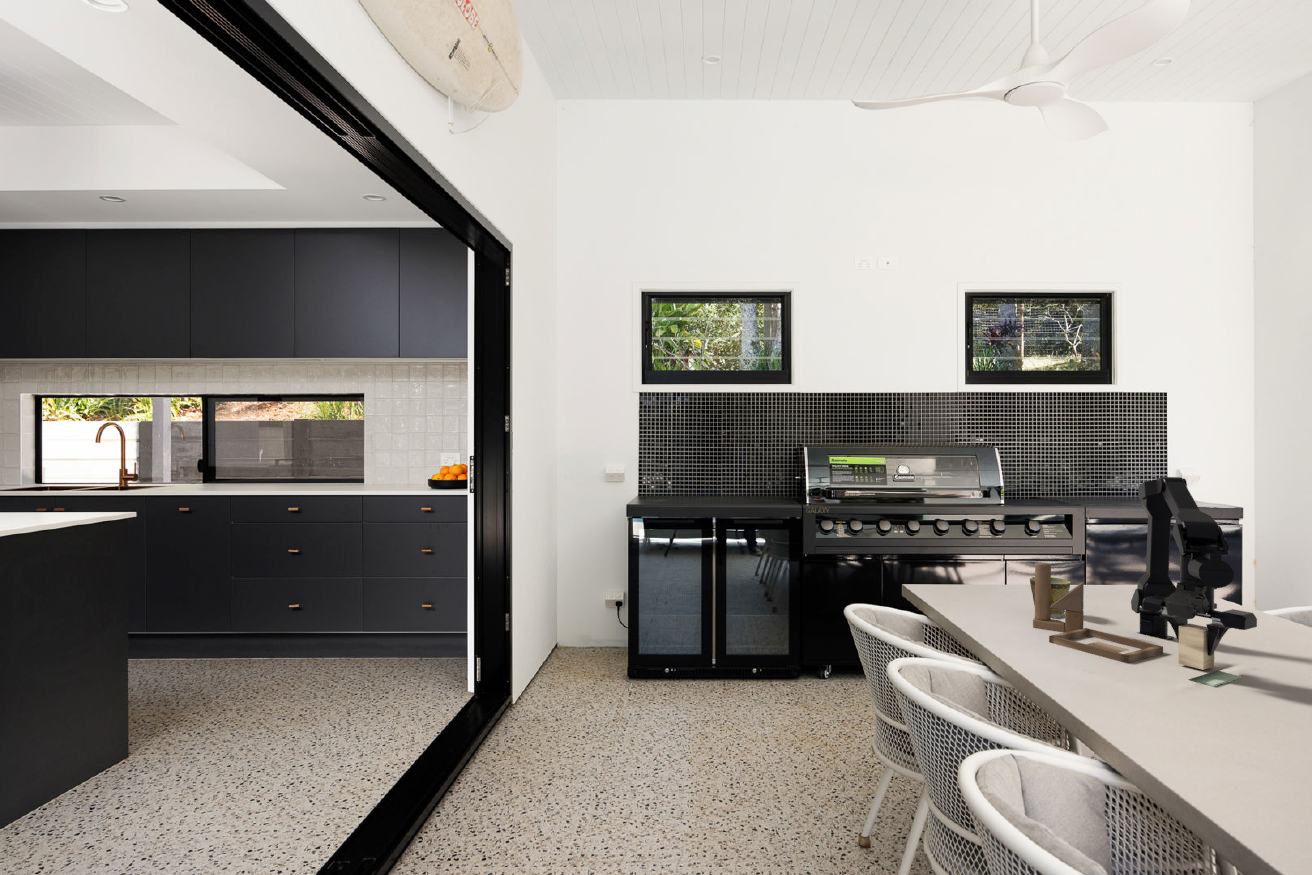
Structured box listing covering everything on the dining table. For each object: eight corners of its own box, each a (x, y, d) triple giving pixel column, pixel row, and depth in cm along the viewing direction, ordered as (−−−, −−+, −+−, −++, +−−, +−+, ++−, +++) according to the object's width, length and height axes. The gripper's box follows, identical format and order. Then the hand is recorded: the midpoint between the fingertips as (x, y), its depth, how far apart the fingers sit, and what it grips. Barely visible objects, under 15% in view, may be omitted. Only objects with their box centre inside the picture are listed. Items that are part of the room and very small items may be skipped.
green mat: (1180, 662, 154) (1180, 661, 154) (1240, 678, 144) (1240, 676, 144) (1153, 670, 148) (1153, 668, 148) (1214, 686, 139) (1214, 684, 139)
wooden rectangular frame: (1086, 640, 171) (1086, 627, 171) (1163, 659, 156) (1163, 646, 156) (1049, 648, 164) (1049, 635, 164) (1125, 669, 149) (1126, 655, 149)
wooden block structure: (1081, 641, 170) (1081, 568, 170) (1032, 633, 177) (1032, 563, 177) (1083, 638, 173) (1083, 566, 173) (1035, 630, 179) (1035, 561, 179)
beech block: (1189, 660, 149) (1189, 623, 149) (1214, 666, 145) (1214, 628, 145) (1178, 663, 147) (1178, 625, 147) (1203, 669, 143) (1203, 631, 143)
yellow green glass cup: (1078, 620, 190) (1078, 583, 190) (1041, 619, 190) (1041, 583, 190) (1051, 608, 203) (1051, 574, 203) (1017, 608, 203) (1017, 574, 203)
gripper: (1128, 574, 151) (1128, 645, 151) (1231, 591, 134) (1231, 671, 134) (1155, 569, 156) (1155, 638, 156) (1258, 585, 140) (1257, 662, 140)
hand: (1196, 652), depth 146 cm, fingers closed on beech block, 4 cm apart
